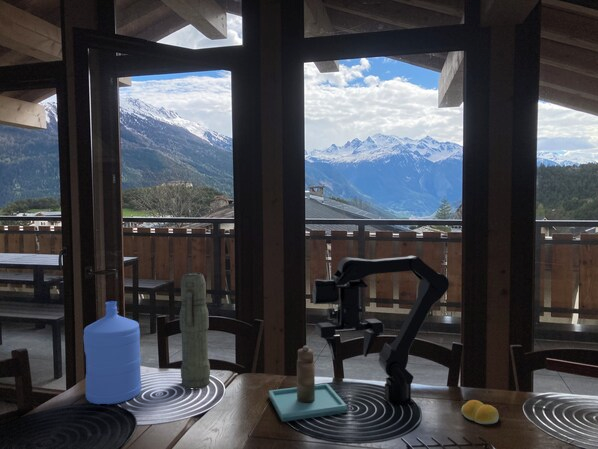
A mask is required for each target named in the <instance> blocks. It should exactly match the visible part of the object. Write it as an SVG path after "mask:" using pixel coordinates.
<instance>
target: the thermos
mask: <svg viewBox="0 0 598 449" xmlns="http://www.w3.org/2000/svg"><path fill="white" fill-rule="evenodd" d="M180 297H181V298H180V300H181V305H180V306H181V307H180V310H179V329H180V332H181V355H182V356H181V357H182V358H181V359H182V363H181V366H180V378H181V386H183V387H182V388H184V387H185V388H184V389H186V388H194V389H193V390H197V389H196V388H200V389H203V388H202V387H204V388H206V387H208V386H209V385H210V375H211V364H210V360H209V348H208V346H209V345H208V330H209V327H210V326H209V323H210V322H209V321H210V320H209V319H210V318H209V310H208V306H207V302H206V301H207V300H206V299H207V282H206V279H205V276H204V274H203V273H201V272H187V273H185V274H184V275H183V276H182V278H181V282H180ZM208 384H209V385H208ZM207 385H208V386H207ZM205 386H206V387H205Z"/></svg>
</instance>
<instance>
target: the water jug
mask: <svg viewBox="0 0 598 449" xmlns="http://www.w3.org/2000/svg"><path fill="white" fill-rule="evenodd" d="M104 304H105V316H103V317H102V318H100V319H98V320H96V321H94V322H92V323H91V324H89V325H87V326H85V328H84V329H83V346H84V354H85V368H86V374H85V391H84V392H85V399H86V400H87V401H88V402H89V403H91V404H95V405H100V404H107V405H113V404H114V405H115V404H120V403H125V402H127V401H129V400H132V399H133V398H136V397H137V396H138V395H139V394H140V393H141V391H142V379H141V378H142V377H141V374H142V373H141V364H142V363H141V362H142V359H141V357H142V356H141V348H140V347H141V345H140V344H141V343H140V342H141V340H140V339H141V331H140V330H141V329H140V324H139V322H138V321H137V320H133V319H130V318H127V317H124V316H121V315H118V306H117V304H118V301H115V300H111V301H106V302H105V303H104Z"/></svg>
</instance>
